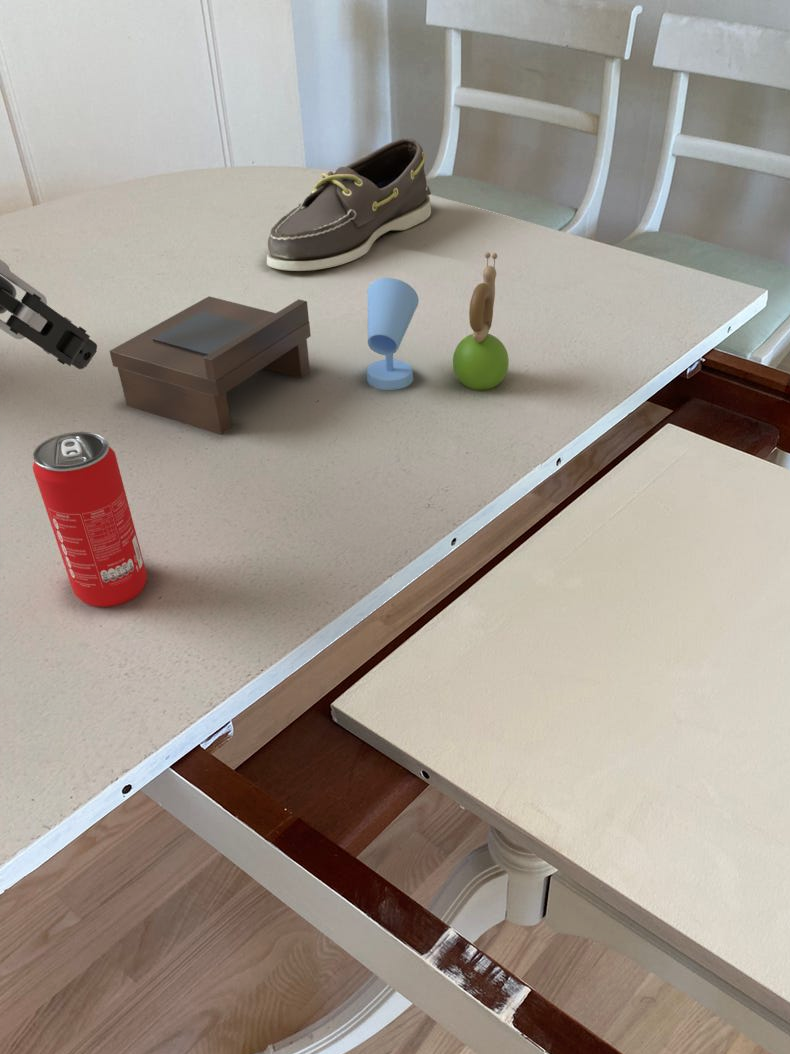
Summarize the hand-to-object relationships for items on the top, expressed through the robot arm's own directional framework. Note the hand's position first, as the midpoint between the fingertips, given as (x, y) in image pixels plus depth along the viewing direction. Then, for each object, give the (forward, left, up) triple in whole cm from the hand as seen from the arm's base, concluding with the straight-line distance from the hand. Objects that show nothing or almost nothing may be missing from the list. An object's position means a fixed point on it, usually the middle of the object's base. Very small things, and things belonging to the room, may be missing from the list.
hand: (43, 326), depth 71 cm
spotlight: (+11, +29, -15) cm, 35 cm away
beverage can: (+10, -9, -15) cm, 20 cm away
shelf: (-2, +19, -15) cm, 24 cm away
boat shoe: (-13, +60, -15) cm, 63 cm away
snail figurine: (+19, +33, -15) cm, 41 cm away
